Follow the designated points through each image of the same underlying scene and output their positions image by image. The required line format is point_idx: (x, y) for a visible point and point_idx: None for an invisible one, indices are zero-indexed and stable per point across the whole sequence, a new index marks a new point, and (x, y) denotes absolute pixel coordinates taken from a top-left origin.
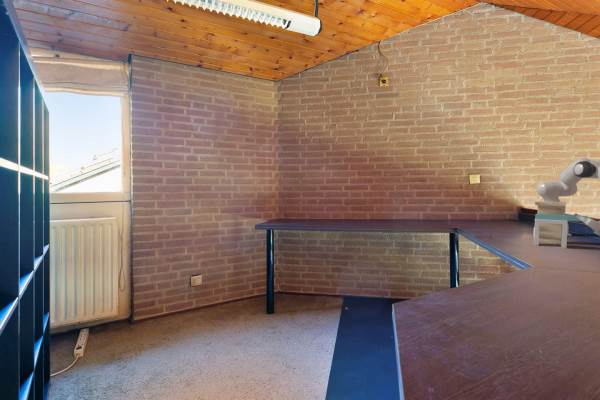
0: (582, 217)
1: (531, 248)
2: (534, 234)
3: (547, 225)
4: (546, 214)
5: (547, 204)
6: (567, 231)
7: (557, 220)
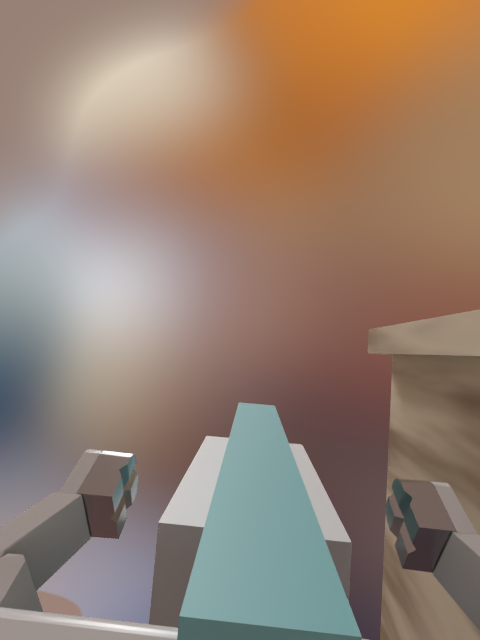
0: (26, 518)
1: (61, 608)
2: None
3: None
4: (266, 416)
5: (397, 344)
6: None
7: (201, 484)
